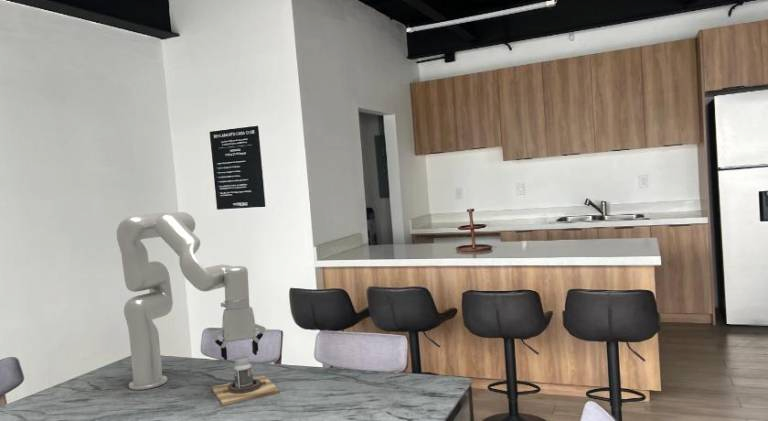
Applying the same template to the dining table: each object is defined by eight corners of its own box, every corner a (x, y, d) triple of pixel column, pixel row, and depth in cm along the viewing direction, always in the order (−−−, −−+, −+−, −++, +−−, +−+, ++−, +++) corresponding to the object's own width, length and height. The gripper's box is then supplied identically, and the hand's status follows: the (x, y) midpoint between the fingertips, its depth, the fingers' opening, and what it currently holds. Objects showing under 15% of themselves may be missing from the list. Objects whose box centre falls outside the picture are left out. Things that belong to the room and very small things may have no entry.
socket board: (211, 389, 192) (211, 382, 191) (264, 378, 200) (264, 371, 200) (222, 405, 175) (221, 397, 175) (279, 392, 183) (279, 385, 183)
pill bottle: (256, 385, 190) (254, 355, 189) (248, 391, 184) (245, 360, 184) (240, 385, 191) (238, 355, 191) (232, 391, 185) (229, 360, 185)
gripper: (212, 310, 180) (215, 364, 180) (266, 303, 187) (269, 354, 188) (208, 305, 186) (210, 358, 187) (260, 299, 194) (263, 349, 195)
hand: (240, 356), depth 188 cm, fingers open, 9 cm apart
